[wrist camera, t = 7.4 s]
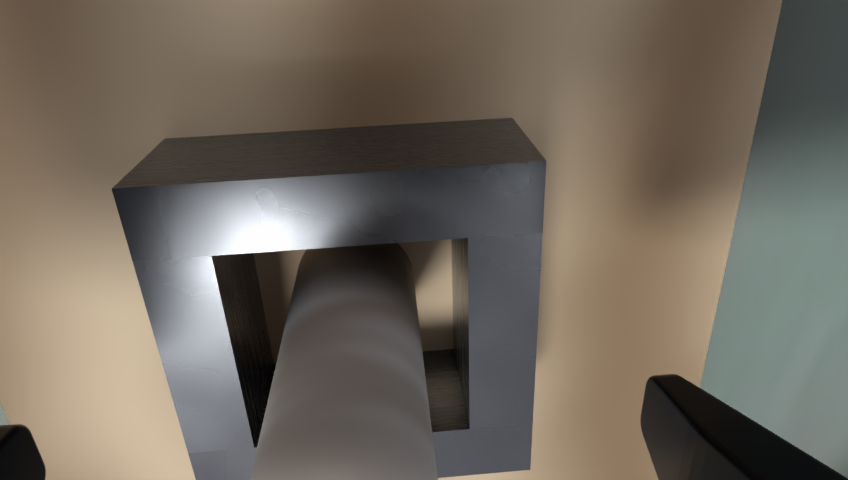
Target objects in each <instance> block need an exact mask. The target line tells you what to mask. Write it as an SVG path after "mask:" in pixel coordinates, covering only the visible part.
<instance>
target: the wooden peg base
mask: <svg viewBox="0 0 848 480" xmlns="http://www.w3.org/2000/svg"><path fill="white" fill-rule="evenodd" d="M782 1H783V0H0V402H1V404H2V407H3V409H4V411H5V413H6V416H7V418H8V420H9V422H10V425H12V424H22V425H25V426H27V427H28V428H29V429H30V431H31V433H32V436H33V438H34V440H35V443H36V445H37V447H38V450H39V452H40V454H41V457H42V459H43V461H44V464H45V469H46V478H45V480H196V479H195V475H194V472H193V468H192V465H191V461H190V458H189V455H188V451H187V448H186V444H185V441H184V437H183V434H182V430H181V427H180V424H179V420H178V417H177V413H176V410H175V406H174V403H173V399H172V396H171V392H170V389H169V386H168V382H167V379H166V375H165V372H164V368H163V365H162V361H161V358H160V355H159V351H158V348H157V344H156V341H155V337H154V334H153V330H152V327H151V323H150V320H149V317H148V313H147V310H146V306H145V303H144V299H143V296H142V292H141V289H140V286H139V282H138V279H137V275H136V272H135V268H134V265H133V261H132V258H131V254H130V251H129V248H128V244H127V241H126V237H125V234H124V230H123V227H122V223H121V220H120V217H119V213H118V210H117V206H116V203H115V199H114V196H113V192H112V188H113V187H114V186H115V185H116V184H117V183H118V182H119V181H120V180H121V179H122V178H123V177H124V176H125V175H127V174H128V173H129V172H130V171H131V170H132V169H133V168H134V167H135V166H136V165H137V164H138V163H139V162H140V161H141V160H142V159H143V158H145V157H146V156H147V155H148V154H149V153H150V152H151V151H152V150H153V149H154V148H155V147H156V146H157V145H158V144H159V143H160V142H161V141H162V140H164V139H165V138H182V137H199V136H215V135H232V134H248V133H265V132H281V131H298V130H315V129H331V128H348V127H364V126H381V125H398V124H414V123H431V122H447V121H464V120H481V119H497V118H513V119H514V120H515V122H516V123H517V124H518V125H519V127H520V128H521V129H522V131H523V132H524V133H525V134H526V136H527V137H528V138H529V139H530V141H531V142H532V143H533V144H534V146H535V147H536V148H537V150H538V151H539V152H540V153H541V155H542V156H543V157H544V158H545V160H546V180H545V199H544V218H543V237H542V256H541V276H540V295H539V314H538V333H537V352H536V372H535V391H534V410H533V429H532V448H531V468H530V470H523V471H511V472H500V473H489V474H478V475H467V476H456V477H444V478H438V477H437V469H436V461H435V452H434V444H433V436H432V427H431V419H430V411H429V402H428V394H427V386H426V377H425V369H424V361H423V352H422V351H432V350H445V349H454V338H453V294H452V250H451V239H446V240H432V241H418V242H403V243H389V244H375V245H360V246H346V247H332V248H318V249H303V250H289V251H275V252H260V253H254V259H255V264H256V269H257V275H258V280H259V285H260V291H261V296H262V301H263V307H264V312H265V317H266V323H267V328H268V333H269V339H270V344H271V349H272V355H273V360H274V363H276V367H275V371H274V376H273V380H272V385H271V389H270V393H269V398H268V402H267V406H266V411H265V415H264V419H263V424H262V428H261V433H260V437H259V441H258V446H257V450H256V454H255V459H254V463H253V467H252V472H251V476H250V480H658V477H657V474H656V471H655V468H654V466H653V463H652V460H651V457H650V454H649V451H648V449H647V446H646V443H645V440H644V437H643V434H642V430H641V424H640V417H641V410H642V404H643V398H644V392H645V386H646V382H647V380H648V378H649V377H651V376H653V375H665V374H677V375H679V376H681V377H683V378H684V379H686V380H688V381H689V382H691V383H693V384H694V385H696V386H698V387H699V388H700V384H701V379H702V375H703V370H704V365H705V361H706V356H707V351H708V347H709V342H710V337H711V333H712V328H713V323H714V319H715V314H716V309H717V305H718V300H719V295H720V291H721V286H722V281H723V277H724V272H725V267H726V263H727V258H728V253H729V249H730V244H731V239H732V235H733V230H734V225H735V221H736V216H737V211H738V207H739V202H740V197H741V193H742V188H743V183H744V179H745V174H746V169H747V165H748V160H749V155H750V151H751V146H752V141H753V137H754V132H755V127H756V123H757V118H758V113H759V109H760V104H761V99H762V95H763V90H764V85H765V81H766V76H767V71H768V67H769V62H770V57H771V53H772V48H773V43H774V39H775V34H776V29H777V25H778V20H779V15H780V11H781V6H782Z"/></svg>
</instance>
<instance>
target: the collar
mask: <svg viewBox="0 0 848 480" xmlns="http://www.w3.org/2000/svg"><path fill="white" fill-rule="evenodd" d="M545 180H546V160H545V158H544V157H543V156H542V155H541V153H540V152H539V151H538V150H537V148H536V147H535V146H534V144H533V143H532V142H531V141H530V139H529V138H528V137H527V136H526V134H525V133H524V132H523V131H522V129H521V128H520V127H519V125H518V124H517V123H516V122H515V120H514V119H513V118H497V119H481V120H464V121H447V122H431V123H414V124H398V125H381V126H364V127H348V128H331V129H315V130H298V131H281V132H265V133H248V134H232V135H215V136H199V137H182V138H165V139H164V140H162V141H161V142H160V143H159V144H158V145H157V146H156V147H155V148H154V149H153V150H152V151H151V152H150V153H149V154H148V155H147V156H146V157H145V158H143V159H142V160H141V161H140V162H139V163H138V164H137V165H136V166H135V167H134V168H133V169H132V170H131V171H130V172H129V173H128V174H127V175H125V176H124V177H123V178H122V179H121V180H120V181H119V182H118V183H117V184H116V185H115V186H114V187H113V188H112V192H113V196H114V199H115V203H116V206H117V210H118V213H119V217H120V220H121V223H122V227H123V230H124V234H125V237H126V241H127V244H128V248H129V251H130V254H131V258H132V261H133V265H134V268H135V272H136V275H137V279H138V282H139V286H140V289H141V292H142V296H143V299H144V303H145V306H146V310H147V313H148V317H149V320H150V323H151V327H152V330H153V334H154V337H155V341H156V344H157V348H158V351H159V355H160V358H161V361H162V365H163V368H164V372H165V375H166V379H167V382H168V386H169V389H170V392H171V396H172V399H173V403H174V406H175V410H176V413H177V417H178V420H179V424H180V427H181V430H182V434H183V437H184V441H185V444H186V448H187V451H188V455H189V458H190V461H191V465H192V468H193V472H194V475H195V479H196V480H250V476H251V472H252V467H253V463H254V459H255V454H256V450H257V446H258V441H259V437H260V433H261V428H262V424H263V419H264V415H265V411H266V406H267V402H268V398H269V393H270V389H271V385H272V380H273V376H274V371H275V367H276V363H274V360H273V355H272V349H271V344H270V339H269V333H268V328H267V323H266V317H265V312H264V307H263V301H262V296H261V291H260V285H259V280H258V275H257V269H256V264H255V259H254V253H260V252H275V251H289V250H303V249H318V248H332V247H346V246H360V245H375V244H389V243H403V242H418V241H432V240H446V239H451V250H452V294H453V338H454V349H445V350H432V351H422V352H423V361H424V369H425V377H426V386H427V394H428V402H429V411H430V419H431V427H432V436H433V444H434V452H435V461H436V469H437V477H438V478H444V477H456V476H467V475H478V474H489V473H500V472H511V471H523V470H530V468H531V448H532V429H533V410H534V391H535V372H536V352H537V333H538V314H539V295H540V276H541V256H542V237H543V218H544V199H545Z"/></svg>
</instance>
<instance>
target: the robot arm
mask: <svg viewBox="0 0 848 480" xmlns="http://www.w3.org/2000/svg"><path fill="white" fill-rule="evenodd" d="M640 424H641V430H642V434H643V437H644V440H645V443H646V446H647V449H648V451H649V454H650V457H651V460H652V463H653V466H654V468H655V471H656V474H657V477H658V480H848V478H846V477H844V476H843V475H841V474H840V473H838V472H836V471H835V470H833V469H831V468H830V467H828V466H826V465H825V464H823V463H822V462H820V461H818V460H817V459H815V458H813V457H812V456H810V455H809V454H807V453H805V452H804V451H802V450H800V449H799V448H797V447H795V446H794V445H792V444H791V443H789V442H787V441H786V440H784V439H782V438H781V437H779V436H778V435H776V434H774V433H773V432H771V431H769V430H768V429H766V428H764V427H763V426H761V425H760V424H758V423H756V422H755V421H753V420H751V419H750V418H748V417H747V416H745V415H743V414H742V413H740V412H738V411H737V410H735V409H733V408H732V407H730V406H729V405H727V404H725V403H724V402H722V401H720V400H719V399H717V398H715V397H714V396H712V395H711V394H709V393H707V392H706V391H704V390H702V389H701V388H699V387H698V386H696V385H694V384H693V383H691V382H689V381H688V380H686V379H684V378H683V377H681V376H679V375H677V374H665V375H653V376H651V377H649V378H648V380H647V382H646V386H645V392H644V398H643V404H642V410H641V417H640ZM45 478H46V469H45V464H44V461H43V459H42V457H41V454H40V452H39V450H38V447H37V445H36V443H35V440H34V438H33V436H32V433H31V431H30V429H29V428H28V427H27V426H25V425H22V424H12V425H0V480H45Z"/></svg>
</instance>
